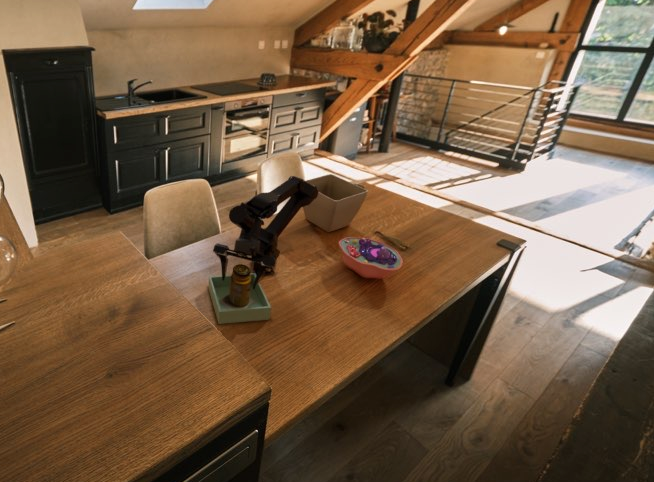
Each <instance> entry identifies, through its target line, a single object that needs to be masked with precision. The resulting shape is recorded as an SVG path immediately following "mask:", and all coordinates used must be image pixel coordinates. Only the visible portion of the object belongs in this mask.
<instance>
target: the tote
mask: <svg viewBox="0 0 654 482" xmlns="http://www.w3.org/2000/svg"><path fill="white" fill-rule="evenodd" d="M231 275H232V274H226V276H225V279H224V281H223V280H222V275H209V276H208V286H207V287H208V291H209V295H210V298H211V302H212V306H213V309H214V312H215V316H216V320H217V322H218V325H221V324H234V323H245V322H257V321H269V320H270V318H271V313H272V312H271V311H272V306H271V304H270V302H269V300H268V297H267V296H266V293H265V291H264V290H263V288H262V285H261V283H260V282H259V283H258V284H257V286H256V287H255V289H253V284H254V281H255V278H256V273H255V272H254V273H252V272H251V273H250V275H251V285H250V295H249V298H251V299H253V300H254V302H253V303H252V304H251V305H249V306H248V307H247V308H241V309H228V308H227V307H225V306H224V305H223V304H222V303H221V302H219V300H221V299H223V298H224V297H225V296H227V295H228V294H230V282H231Z"/></svg>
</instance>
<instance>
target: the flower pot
mask: <svg viewBox="0 0 654 482" xmlns="http://www.w3.org/2000/svg"><path fill="white" fill-rule="evenodd" d="M305 181H306V182H307V183H309V184H311V185H314V186H316V187H317V190H318V196H317V198H316V199H314V200H313V201H312V202H311V203H310V204H309V205H307V206H304V207H302V210H303V213H304V217H305V219H306V221H309V222H310V223H312V224H313V225H315V226H317V227H318V228H319V229H321V230H323V231H324V232H327V233H331V232H333V231H337V230H340V229H342V228H345V227H348V226H350V224H351V223H352V222H353V221H354V219H355V218H356V216H357V214H358V213H359V211H360V210H361V208H362V205H363V204H364V203H365V202H364V201H365V200H366V197H367V196H368V193H369V190H368V189H366V188H364V187H362V186H360V185H357V184H355V183H353V182H350V181H348V180H346V179H344V178H341V177H339V176H337V175H335V174H331V173H329V174H324V175H322V176H321V175H320V176H318V177H314V178H310V179H306V180H305Z"/></svg>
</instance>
